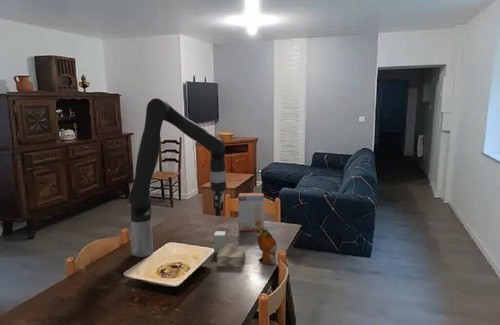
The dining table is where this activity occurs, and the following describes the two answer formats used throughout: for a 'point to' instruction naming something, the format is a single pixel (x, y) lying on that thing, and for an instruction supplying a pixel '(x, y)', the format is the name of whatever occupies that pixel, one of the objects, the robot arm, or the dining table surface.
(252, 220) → the cracker box
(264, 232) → the toy
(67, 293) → the dining table surface
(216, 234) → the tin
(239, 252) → the beige box
